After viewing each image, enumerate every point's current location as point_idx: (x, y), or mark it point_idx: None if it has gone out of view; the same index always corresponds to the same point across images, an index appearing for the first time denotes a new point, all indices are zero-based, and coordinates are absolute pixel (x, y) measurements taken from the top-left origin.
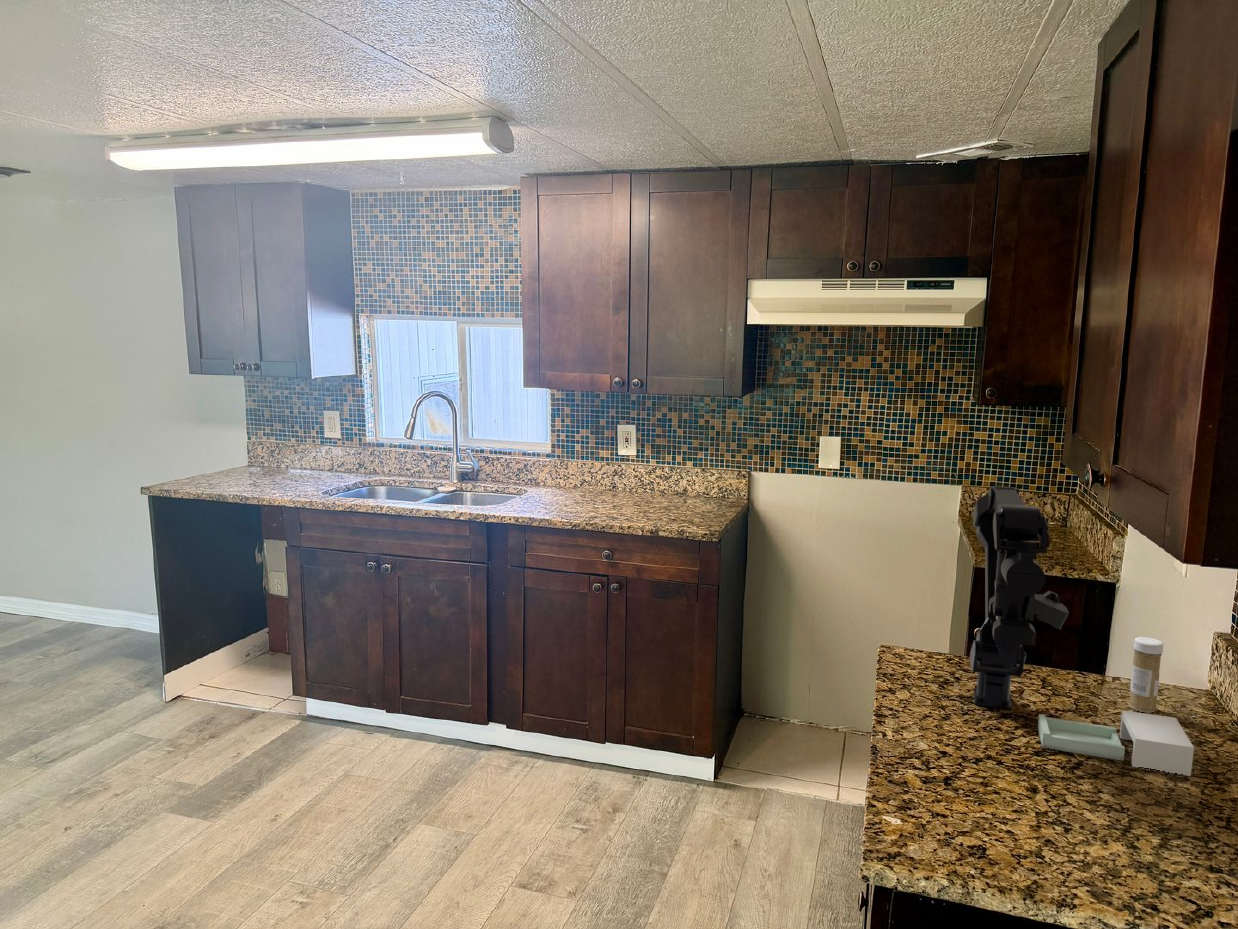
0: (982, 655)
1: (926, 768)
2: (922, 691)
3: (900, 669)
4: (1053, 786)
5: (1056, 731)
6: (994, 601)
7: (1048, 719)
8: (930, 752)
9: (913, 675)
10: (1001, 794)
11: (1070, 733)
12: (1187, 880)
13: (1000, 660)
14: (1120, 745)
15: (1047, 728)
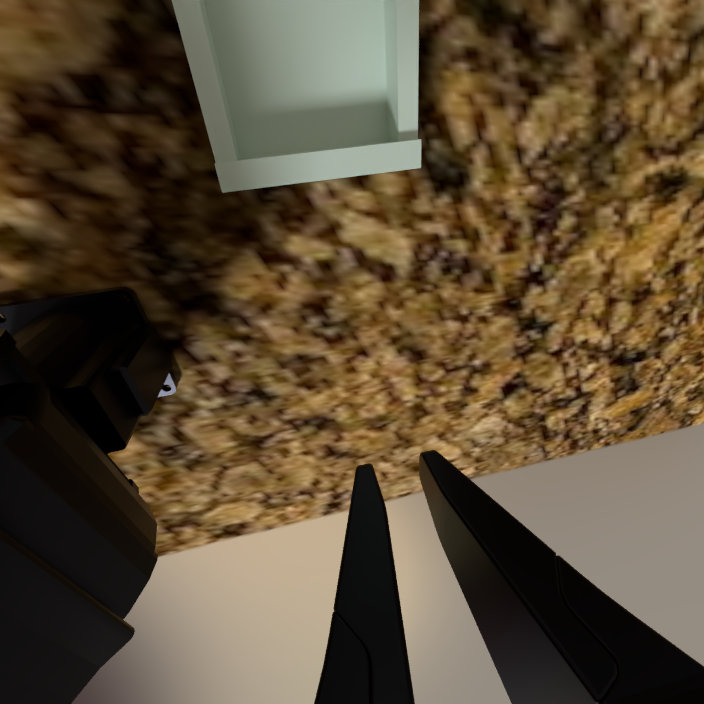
0: (154, 555)
1: (582, 397)
2: (180, 494)
3: None
4: (654, 125)
5: (254, 104)
6: None
7: (232, 145)
8: (514, 407)
9: None
10: (686, 257)
11: (237, 31)
12: None
13: (107, 482)
14: None
15: (367, 151)
